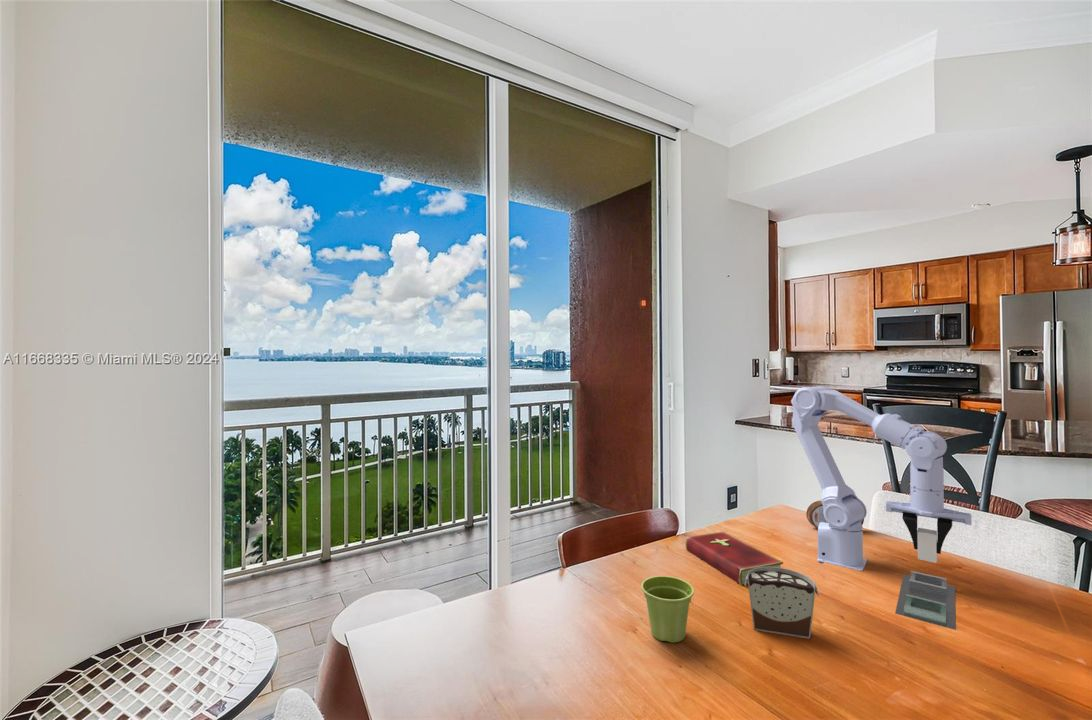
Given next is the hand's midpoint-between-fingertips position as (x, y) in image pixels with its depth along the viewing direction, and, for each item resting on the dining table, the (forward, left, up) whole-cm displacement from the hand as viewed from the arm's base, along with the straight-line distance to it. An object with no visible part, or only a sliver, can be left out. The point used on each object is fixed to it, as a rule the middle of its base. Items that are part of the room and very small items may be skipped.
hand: (927, 550), depth 104 cm
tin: (-22, +28, -9) cm, 37 cm away
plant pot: (-36, -52, -9) cm, 64 cm away
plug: (0, 0, -2) cm, 2 cm away
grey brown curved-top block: (-21, -36, -9) cm, 43 cm away
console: (0, -7, -8) cm, 11 cm away
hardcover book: (-38, -14, -9) cm, 41 cm away
